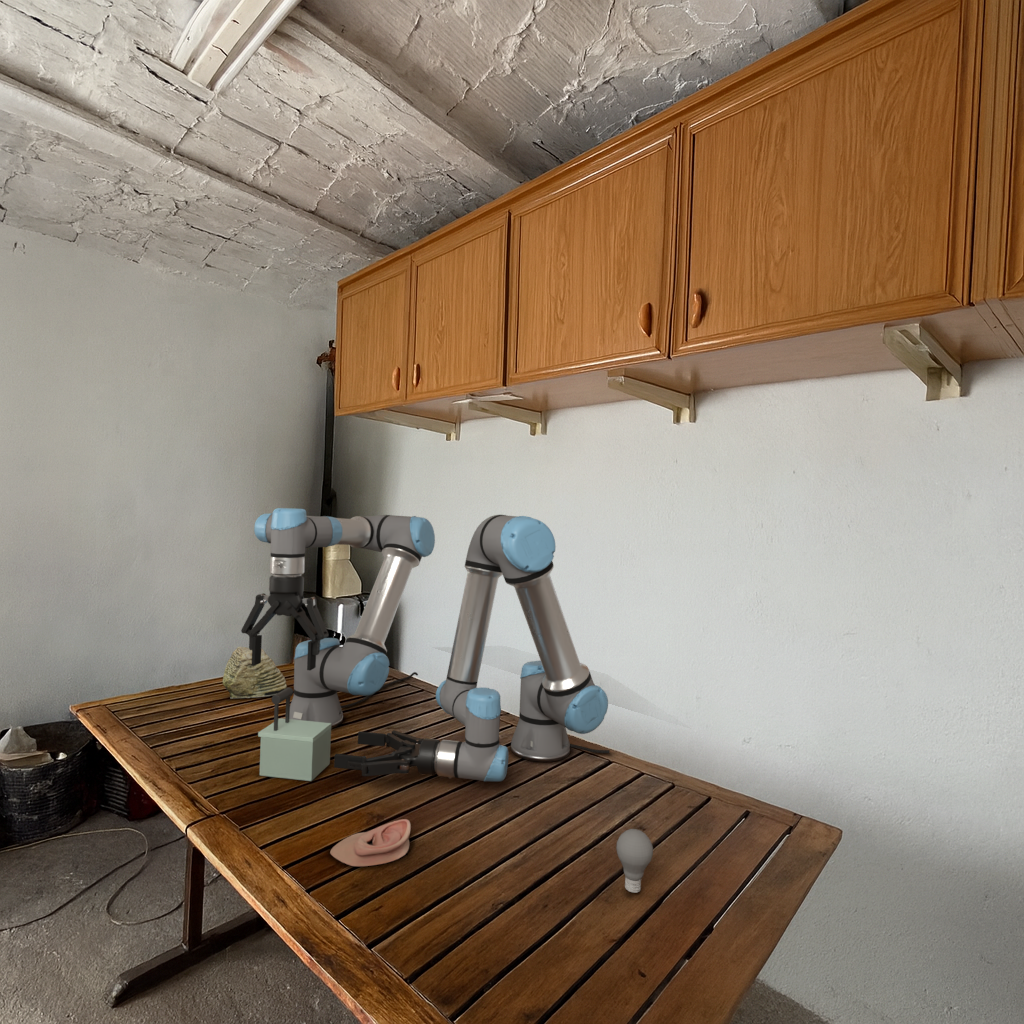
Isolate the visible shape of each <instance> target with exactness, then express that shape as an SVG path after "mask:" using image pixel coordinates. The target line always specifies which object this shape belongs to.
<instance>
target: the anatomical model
mask: <svg viewBox="0 0 1024 1024" xmlns="http://www.w3.org/2000/svg"><path fill="white" fill-rule="evenodd" d="M411 825H412V824H411V822H410V820H409V819H406V818H404V819H403V818H402V819H396V820H394V821H391V822H387V823H385V824H382V825H380V826H377V827H375V828H373V829H370V830H367V831H363V832H358V833H354V834H352V835H349V836H348V837H345V838H344V839H342V840H341V841H339V842H338V843H336V844H335V845H334V846H332V848H331V849H330V850H329V851H330V852H329V854H330V855H331V856H332V857H333V858H334V859H335V860H337V861H339V862H341V863H342V864H344V865H345V864H346V865H347V866H351V867H368V866H369V867H370V866H377V865H383V864H387V863H391V862H394V861H397V860H399V859H400V858H402V857H404V856H405V855H406V854H407V853H408V852H409V849H410V839H409V837H410V834H411V830H412V829H411V828H412V826H411Z"/></svg>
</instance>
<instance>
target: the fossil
mask: <svg viewBox="0 0 1024 1024" xmlns="http://www.w3.org/2000/svg"><path fill="white" fill-rule="evenodd" d="M222 676H223V677H222V685H223V687H224V688H225V690H226V691H228V693H229V698H230V699H250V698H264V697H271V696H272V697H273V696H274V695H276V694H278V693H279V692H281V691H283V690H285V689H286V688H288V686H287V680H286V678H285V676H284V674H283V673H282V672H281V669H279V668H278V667H277V665H276V663H275V662H274V660H273V659H272V658H271V657H270V656H269V655H268V654H267V653H266V652H265V650H264V649H263V648H261V663H259V664H257V665H255V666H252V650H250V649H249V647H247V646H246V647H245V646H238V647H237V648H236V649H235V650H233V651H232V653H231V656H230V657H229V659H228V660H227V663H226V666H225V668H224V671H223V675H222Z"/></svg>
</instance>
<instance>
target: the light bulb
mask: <svg viewBox="0 0 1024 1024" xmlns="http://www.w3.org/2000/svg"><path fill="white" fill-rule="evenodd" d="M615 849H616V854H617V857H618V859H619V861H620V863H621V865H622V867H623V873H624V874H623V875H624V876H625V878H624V888H625V890H627V891H628V892H630V893H634V894H635V893H639V892H640V891H641V889H642V887H641V886H642V879H643V877H644V875H645V871H646V868H647V867H648V866H649V864H650V863H651V861H652V859H653V855H654V847H653V843H652V841H651V838H649V836H648V835H647V834H646V833H645V832H643V831H642V830H641V829H636V828H629V829H627V830H625V831H623V832H622V833H621V834H620V835H619V837H618V839H617V841H616V847H615Z"/></svg>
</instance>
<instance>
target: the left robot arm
mask: <svg viewBox="0 0 1024 1024" xmlns="http://www.w3.org/2000/svg"><path fill="white" fill-rule="evenodd" d="M253 529H254V531H253V532H254V535H255V538H257V540H259V541H260V542H262V543H267V544H270V555H269V556H270V559H269V573H270V576H269V582H268V591H269V594H266V593H263V592H262V593H259V594H256V595H255V601H254V605H253V606H252V608H251V610H250V613H249V614H248V616H247V617H246V619H245V621H244V623H243V626H242V628H241V629H240V630H241V631H240V632H241V633H242V634H246V635H248V637H249V638H248V640H249V641H248V645H249V646H248V648H249V649H250V650H252V666H255V665H257V664H259V663H261V649H262V642H263V641H262V640H263V635H262V634H260V633H261V632H262V630H263V629H264V628H265V627H266V626H267V625H268V623H269V622H270V621H272V619H273V618H274V617H275V616H279V617H280V616H285V617H293V618H294V619H295V620H296V621H297V622H298V623H299V625H300V626H301V628H302V629H303V630H304V632H305V633H306V635H307V636H308V637H309V639H308V640H304V641H302V642H299V643H298V644H297V645H296V647H295V652H294V653H295V654H294V657H293V662H294V663H293V665H294V666H293V695H292V696H293V697H292V699H291V701H290V716H289V719H293V720H303V721H313V722H324V723H331V730H332V729H335V728H337V727H339V726H340V725H342V723H343V722H344V714H343V709H345V708H349V707H353V706H356V705H358V704H360V703H363V702H364V701H367V700H368V699H369V698H370V697H372V696H374V695H375V694H376V693H377V692H379V691H381V690H382V689H385V688H386V687H389V686H391V685H394V684H396V683H399V682H403V681H405V680H409V679H411V678H412V677H413V676H419V674H418V672H416V671H414V672H412V673H411V674H409V675H408V676H405V677H402V678H399V679H395V680H393V681H390V682H388V683H386V681H387V679H388V677H389V674H390V667H389V666H390V660H389V658H388V656H387V653H388V649H387V647H386V645H385V642H386V640H387V638H388V635H389V633H390V630H391V627H392V624H393V622H394V619H395V616H396V613H397V610H398V608H399V605H400V603H401V599H402V597H403V594H404V591H405V589H406V587H407V583H408V581H409V578H410V575H411V573H412V571H413V569H414V568H416V567H419V566H420V563H421V561H422V558H426V557H429V556H430V555H432V553H433V552H434V549H435V544H436V536H435V535H436V534H435V530H434V527H433V524H432V523H431V522H430V521H429V519H428V518H426V517H421V516H417V515H412V516H407V515H394V514H393V515H392V514H376V515H363V516H362V515H361V516H360V515H357V516H353V517H351V518H343V517H333V516H329V515H327V516H326V515H323V516H317V515H315V516H314V515H307V511H306V509H304V508H297V507H296V508H294V507H292V508H291V507H277V508H275V509H274V510H273V511H272V512H271V513H262V514H261V515H259V516H258V517H257V518H256V520H255V522H254V527H253ZM336 545H339V546H340V545H341V546H343V545H344V546H346V545H347V546H350V547H352V548H353V549H363V550H368V551H372V552H377V553H378V552H379V553H381V554H382V556H383V560H382V564H381V566H380V569H379V572H378V574H377V577H376V579H375V581H374V583H373V586H372V589H371V591H370V594H369V597H368V599H367V601H366V604H365V606H364V608H363V611H362V614H361V617H360V618H359V622H358V624H357V627H356V629H355V632H354V633H353V634H351V635H350V636H347V637H346V638H345V642H344V643H343V645H342V646H341V645H340V644H341V643H340V640H339V638H335V637H329V631H328V629H327V627H326V625H325V622H324V620H323V617H322V615H321V613H320V610H319V608H318V604H317V602H318V601H317V597H315V596H311V597H304V591H305V590H304V586H305V577H304V573H305V562H306V561H305V556H306V549H308V548H309V549H310V548H311V549H312V548H328V547H333V546H336ZM267 603H268V604H269V606H270V607H269V608H268V609H267V610H266V611H265V613H264V615H263V616H262V617H261V618H260V619H259V620H258V618H259V617H260V615H261V613H262V611H263V609H264V607H265V605H266V604H267ZM303 605H304V606H305V607H306V608H307V612H308V615H309V617H310V619H309V617H308V616H307V614H306V611H305V610H304V608H303ZM257 620H258V621H257ZM256 622H257V623H256ZM338 692H341V693H345V694H350V695H353V696H362V697H363V698H362V699H359V700H357V701H355V702H352V703H348V704H344V705H341V702H340V699H339V695H338Z"/></svg>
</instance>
